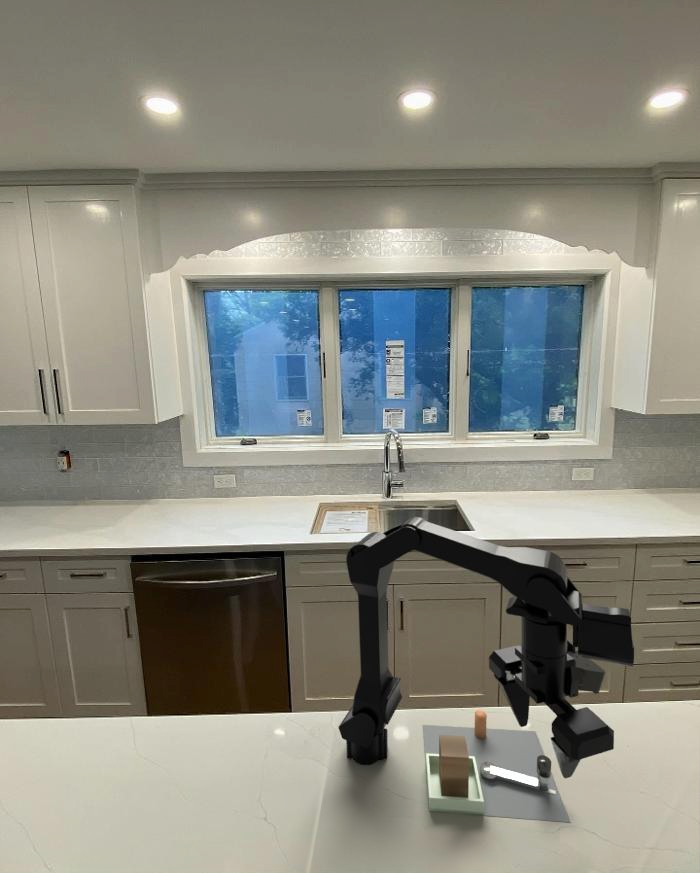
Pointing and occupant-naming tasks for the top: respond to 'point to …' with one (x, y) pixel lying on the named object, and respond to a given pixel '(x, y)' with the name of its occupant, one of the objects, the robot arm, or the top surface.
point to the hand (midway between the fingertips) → (543, 749)
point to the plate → (508, 754)
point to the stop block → (453, 766)
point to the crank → (539, 783)
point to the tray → (453, 804)
